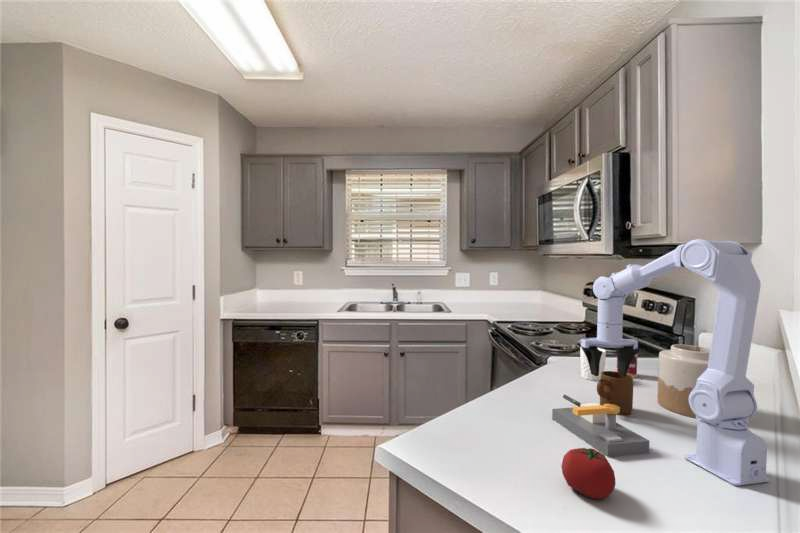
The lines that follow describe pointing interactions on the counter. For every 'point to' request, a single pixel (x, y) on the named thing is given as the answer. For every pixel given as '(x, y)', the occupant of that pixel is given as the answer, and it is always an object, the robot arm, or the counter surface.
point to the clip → (596, 410)
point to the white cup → (586, 368)
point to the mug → (616, 391)
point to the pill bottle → (631, 367)
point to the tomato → (588, 472)
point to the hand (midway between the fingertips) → (608, 374)
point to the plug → (591, 418)
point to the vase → (680, 376)
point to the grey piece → (602, 433)
